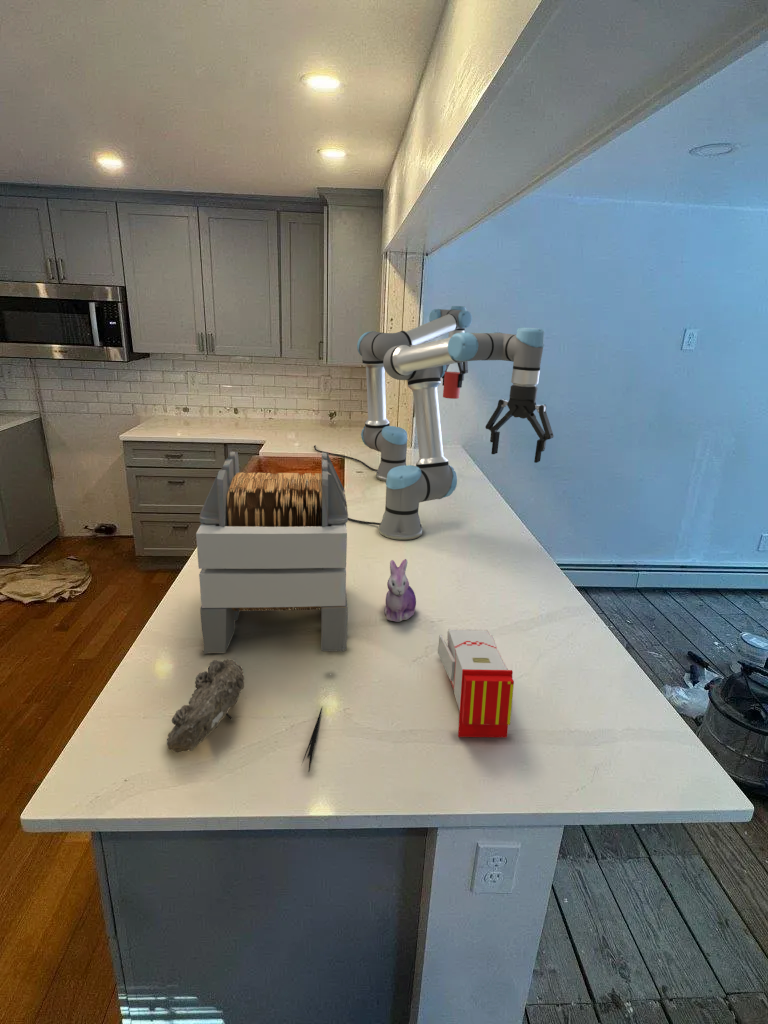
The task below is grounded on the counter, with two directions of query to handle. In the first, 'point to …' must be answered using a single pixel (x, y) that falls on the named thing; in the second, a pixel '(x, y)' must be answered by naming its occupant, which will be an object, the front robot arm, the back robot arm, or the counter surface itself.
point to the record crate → (273, 550)
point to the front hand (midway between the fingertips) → (515, 457)
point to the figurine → (399, 594)
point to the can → (451, 385)
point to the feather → (313, 740)
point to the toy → (478, 682)
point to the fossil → (206, 705)
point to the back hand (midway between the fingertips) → (451, 386)
